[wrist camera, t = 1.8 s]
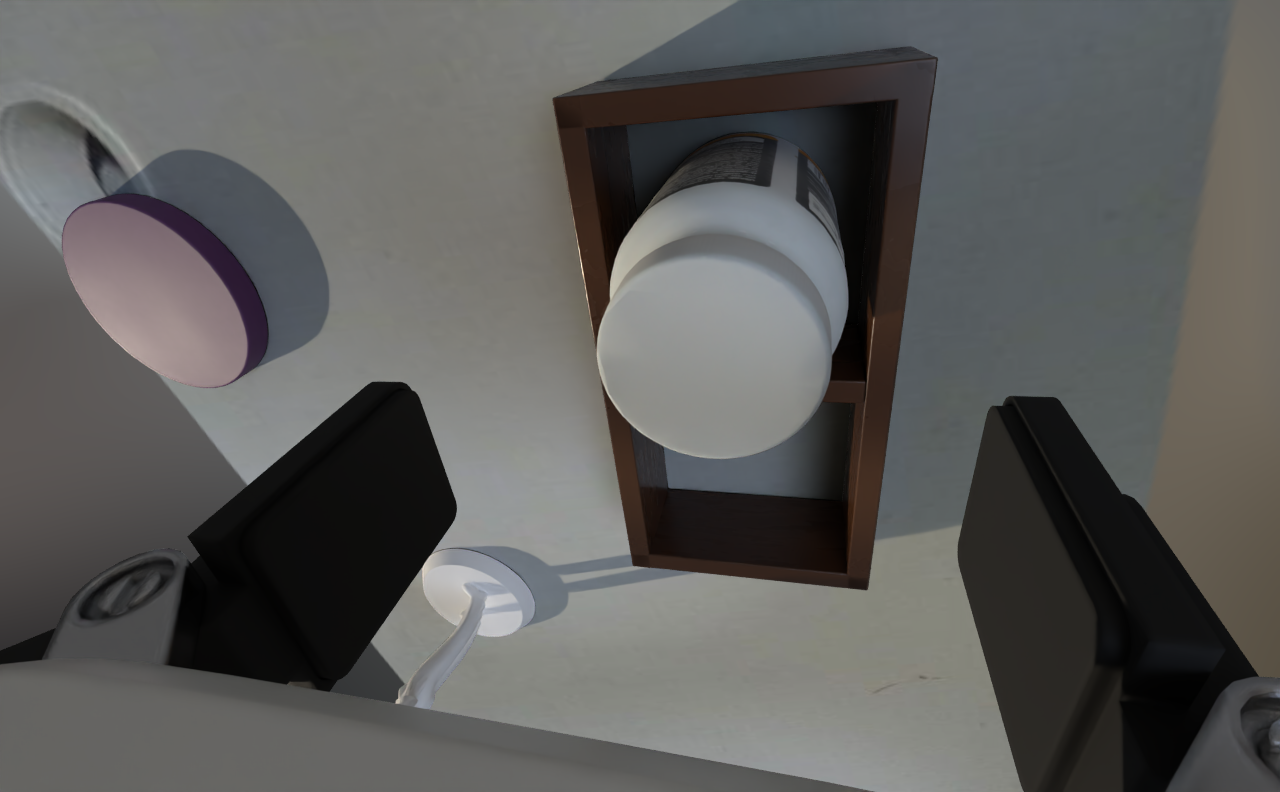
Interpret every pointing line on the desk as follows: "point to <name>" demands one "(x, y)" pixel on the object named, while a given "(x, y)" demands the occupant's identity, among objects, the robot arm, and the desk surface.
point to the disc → (165, 289)
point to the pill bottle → (727, 301)
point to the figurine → (466, 613)
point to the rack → (866, 353)
